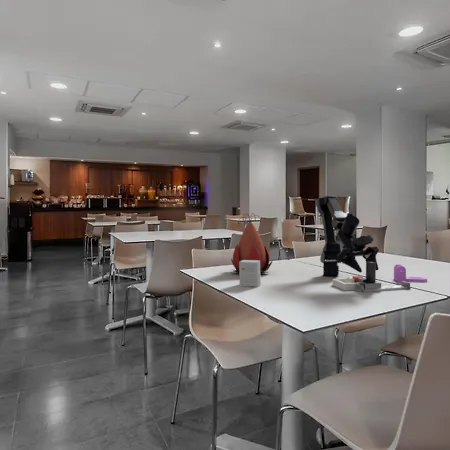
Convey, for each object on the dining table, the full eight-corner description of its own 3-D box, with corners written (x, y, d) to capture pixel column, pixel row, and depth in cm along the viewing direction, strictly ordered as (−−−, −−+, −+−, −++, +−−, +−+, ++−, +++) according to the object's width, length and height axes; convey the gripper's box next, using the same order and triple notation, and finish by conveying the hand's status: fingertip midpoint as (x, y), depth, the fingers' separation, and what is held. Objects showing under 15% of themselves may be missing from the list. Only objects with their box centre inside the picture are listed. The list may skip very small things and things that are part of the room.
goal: (347, 284, 160) (347, 278, 160) (361, 289, 150) (361, 283, 150) (332, 285, 159) (332, 279, 159) (344, 290, 149) (344, 284, 149)
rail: (404, 286, 154) (404, 281, 154) (410, 288, 150) (410, 282, 150) (355, 290, 149) (355, 284, 149) (360, 292, 146) (360, 285, 146)
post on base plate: (365, 284, 158) (365, 258, 157) (381, 289, 148) (381, 262, 147) (350, 285, 157) (350, 259, 156) (365, 291, 146) (365, 263, 145)
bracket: (396, 281, 165) (396, 265, 165) (393, 279, 171) (394, 263, 170) (428, 282, 162) (429, 266, 162) (424, 280, 168) (425, 264, 167)
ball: (357, 280, 155) (353, 289, 155) (349, 276, 158) (345, 285, 158) (354, 278, 152) (350, 287, 152) (345, 274, 155) (341, 283, 155)
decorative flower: (239, 268, 204) (238, 212, 202) (279, 270, 194) (279, 212, 192) (221, 275, 184) (220, 213, 183) (265, 278, 174) (265, 214, 173)
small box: (260, 284, 161) (260, 260, 161) (257, 287, 156) (257, 262, 155) (242, 283, 164) (242, 259, 163) (239, 286, 158) (238, 261, 158)
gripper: (342, 229, 148) (364, 260, 139) (375, 227, 157) (398, 256, 148) (328, 246, 156) (348, 277, 147) (360, 243, 164) (381, 273, 155)
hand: (369, 270), depth 149 cm, fingers open, 9 cm apart
